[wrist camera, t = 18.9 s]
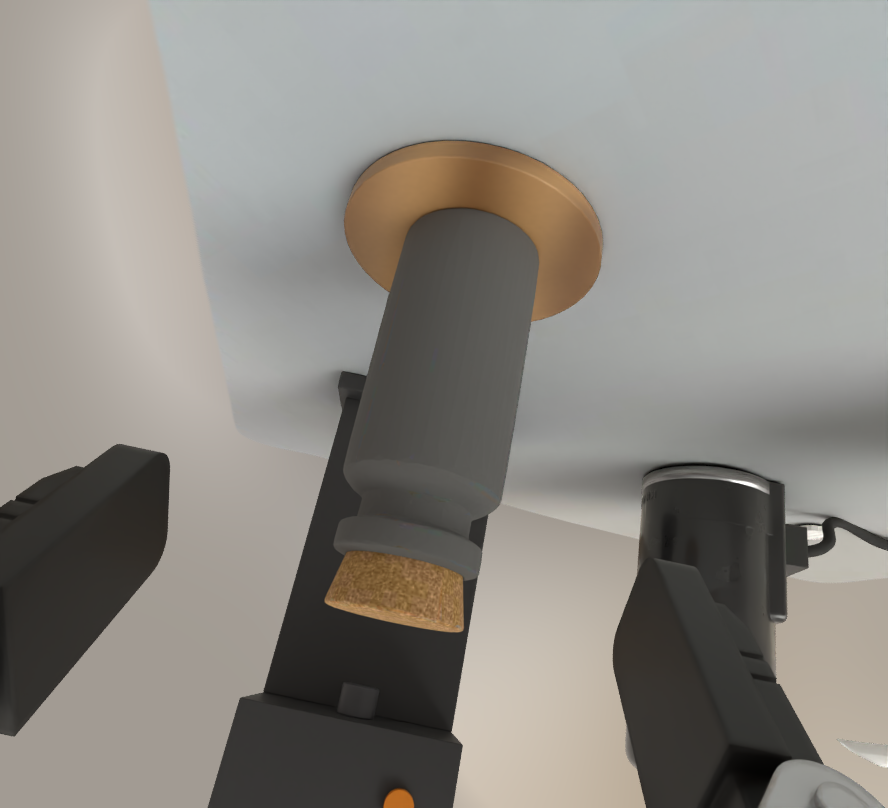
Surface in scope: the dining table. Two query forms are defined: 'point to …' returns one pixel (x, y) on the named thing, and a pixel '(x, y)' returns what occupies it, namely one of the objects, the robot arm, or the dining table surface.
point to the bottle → (436, 418)
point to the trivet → (482, 188)
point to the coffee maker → (348, 686)
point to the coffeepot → (868, 751)
